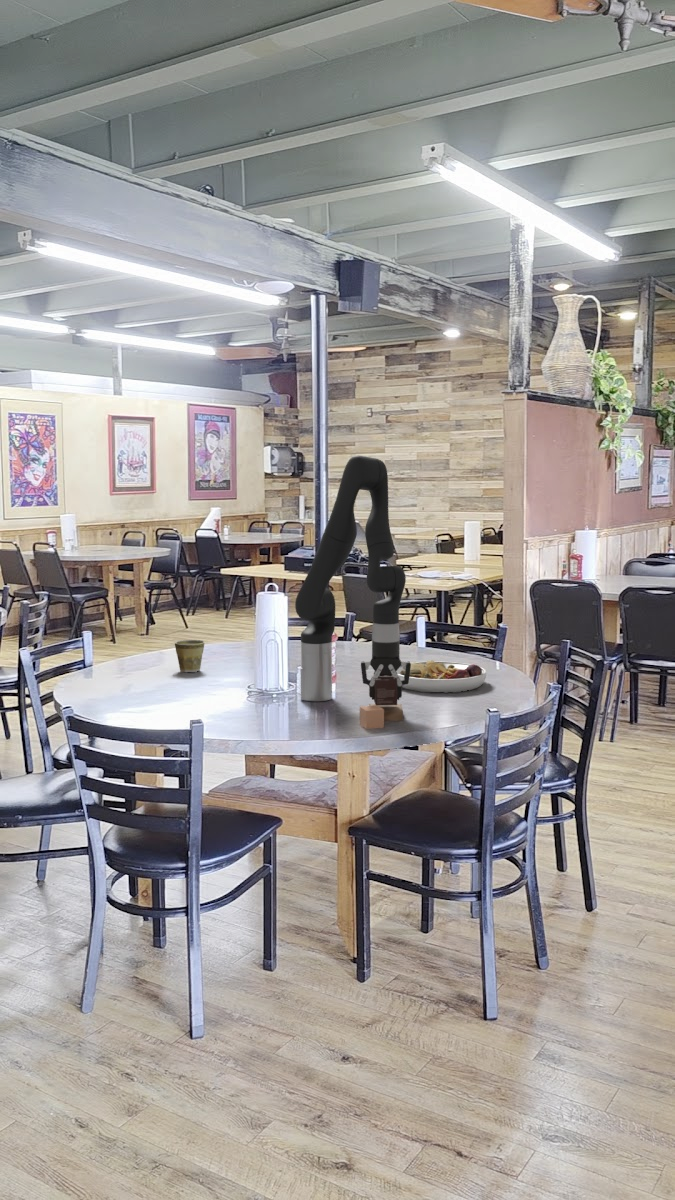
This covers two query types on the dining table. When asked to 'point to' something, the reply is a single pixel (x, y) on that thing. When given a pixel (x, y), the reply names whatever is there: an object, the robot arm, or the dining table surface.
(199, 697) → the dining table surface
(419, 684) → the bowl
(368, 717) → the terracotta block
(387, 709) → the plinth
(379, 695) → the box
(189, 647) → the ceramic cup
